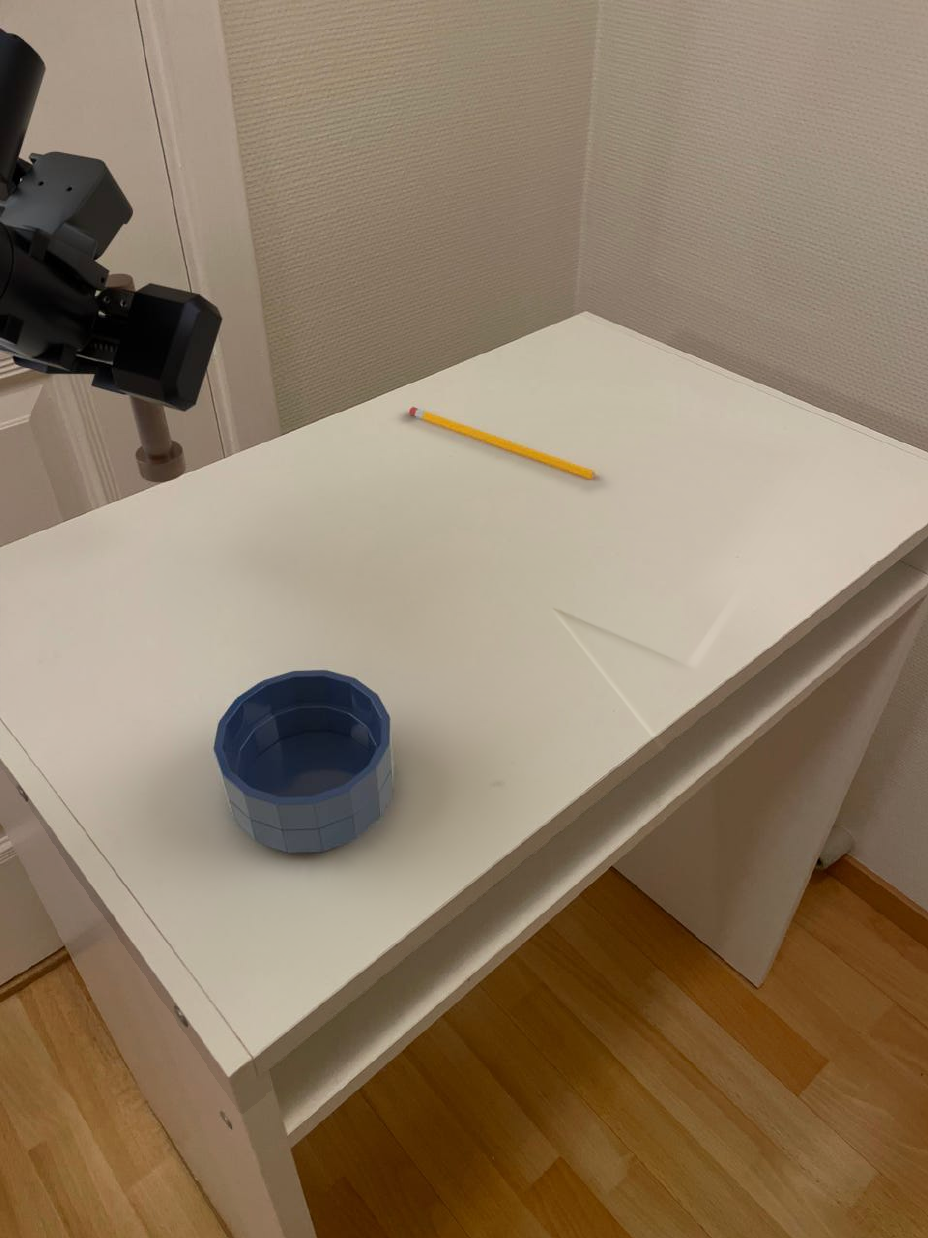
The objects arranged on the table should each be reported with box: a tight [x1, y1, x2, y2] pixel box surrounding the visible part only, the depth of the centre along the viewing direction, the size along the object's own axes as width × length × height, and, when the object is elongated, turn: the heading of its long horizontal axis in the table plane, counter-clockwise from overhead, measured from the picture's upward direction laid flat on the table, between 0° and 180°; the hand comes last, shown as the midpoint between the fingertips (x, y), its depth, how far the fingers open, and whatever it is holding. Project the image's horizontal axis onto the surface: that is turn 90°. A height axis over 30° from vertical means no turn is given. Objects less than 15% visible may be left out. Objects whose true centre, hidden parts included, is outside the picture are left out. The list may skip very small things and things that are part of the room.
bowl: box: [212, 669, 395, 854], centre depth 53 cm, size 9×9×5 cm
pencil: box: [408, 406, 596, 481], centre depth 81 cm, size 1×18×1 cm, turn 57°
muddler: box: [105, 273, 187, 483], centre depth 62 cm, size 3×3×14 cm
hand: (154, 370), depth 63 cm, fingers closed on muddler, 2 cm apart
